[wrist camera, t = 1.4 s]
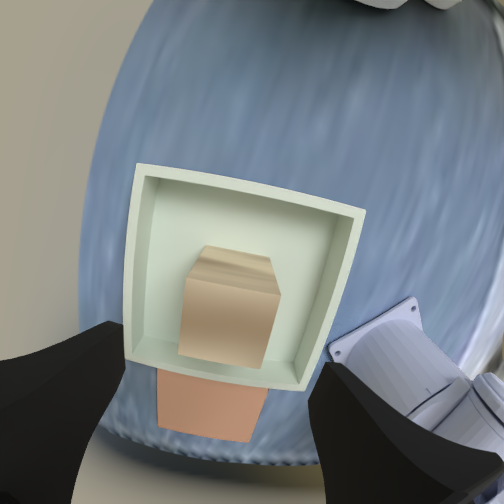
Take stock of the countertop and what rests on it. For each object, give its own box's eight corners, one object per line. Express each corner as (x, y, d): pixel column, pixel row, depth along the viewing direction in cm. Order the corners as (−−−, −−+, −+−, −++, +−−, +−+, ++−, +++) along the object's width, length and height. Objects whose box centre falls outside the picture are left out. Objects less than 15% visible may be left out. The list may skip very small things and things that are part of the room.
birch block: (256, 313, 18) (260, 369, 12) (197, 302, 18) (177, 354, 12) (269, 257, 17) (281, 295, 11) (206, 244, 17) (186, 277, 11)
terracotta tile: (248, 439, 22) (248, 442, 22) (159, 423, 21) (157, 426, 21) (270, 377, 20) (271, 381, 19) (159, 357, 19) (157, 360, 19)
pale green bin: (297, 366, 20) (304, 391, 17) (138, 336, 19) (124, 358, 16) (347, 205, 17) (366, 210, 14) (154, 165, 16) (136, 162, 13)
